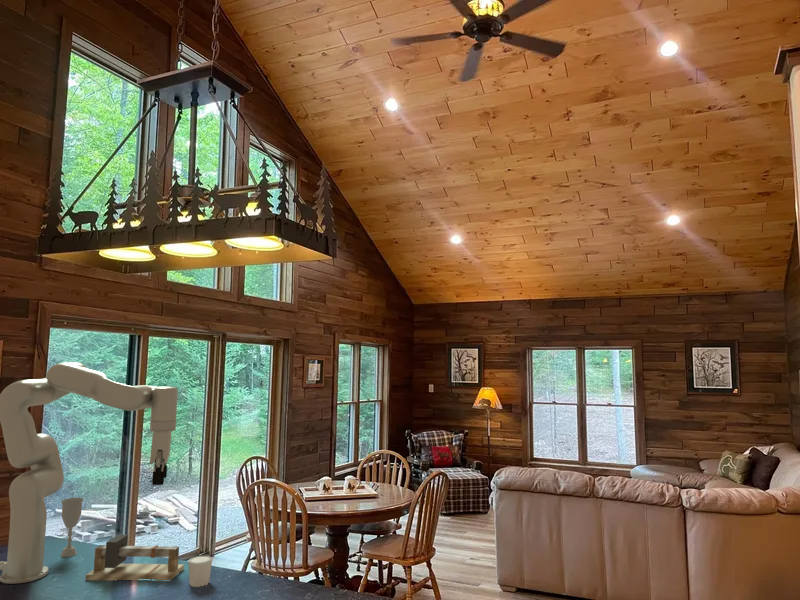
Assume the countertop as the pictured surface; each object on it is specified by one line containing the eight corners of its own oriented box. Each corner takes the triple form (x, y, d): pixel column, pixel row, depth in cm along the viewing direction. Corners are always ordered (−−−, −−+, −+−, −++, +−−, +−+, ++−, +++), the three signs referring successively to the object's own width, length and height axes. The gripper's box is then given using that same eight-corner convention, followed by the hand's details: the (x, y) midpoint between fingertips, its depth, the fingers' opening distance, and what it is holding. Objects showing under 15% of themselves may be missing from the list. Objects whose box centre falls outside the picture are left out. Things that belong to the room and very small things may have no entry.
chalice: (63, 551, 199) (67, 497, 201) (83, 550, 200) (87, 497, 201) (52, 558, 192) (56, 503, 193) (74, 557, 192) (78, 502, 194)
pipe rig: (85, 580, 174) (87, 551, 174) (102, 568, 184) (104, 540, 184) (170, 581, 173) (172, 552, 174) (183, 569, 183) (184, 542, 184)
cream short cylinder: (203, 588, 168) (204, 564, 169) (182, 586, 170) (183, 562, 170) (215, 580, 175) (216, 556, 176) (195, 578, 176) (196, 554, 177)
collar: (104, 567, 175) (106, 542, 176) (117, 559, 183) (118, 534, 183) (114, 568, 175) (116, 542, 176) (126, 559, 183) (127, 534, 183)
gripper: (153, 423, 188) (149, 476, 187) (146, 429, 172) (142, 488, 170) (177, 422, 191) (174, 475, 189) (173, 429, 174) (169, 487, 172)
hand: (159, 481), depth 180 cm, fingers open, 9 cm apart
